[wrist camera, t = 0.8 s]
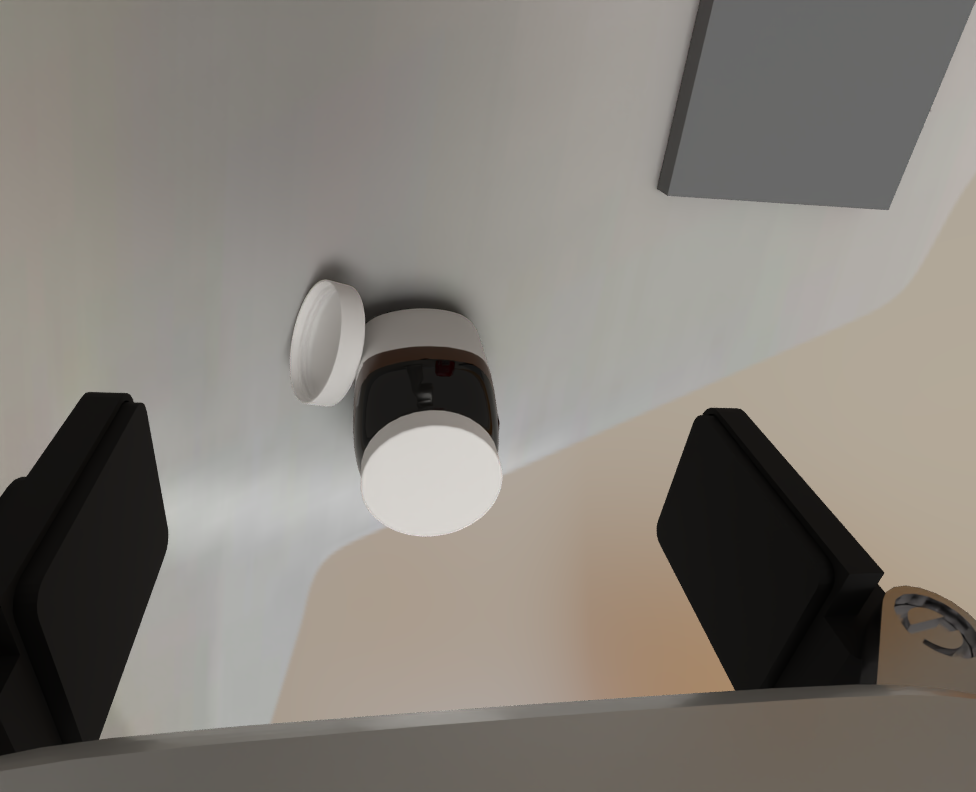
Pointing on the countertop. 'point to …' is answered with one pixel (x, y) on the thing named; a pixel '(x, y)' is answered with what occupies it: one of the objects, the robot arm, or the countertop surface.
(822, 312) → the countertop surface
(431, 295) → the countertop surface
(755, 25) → the mat
